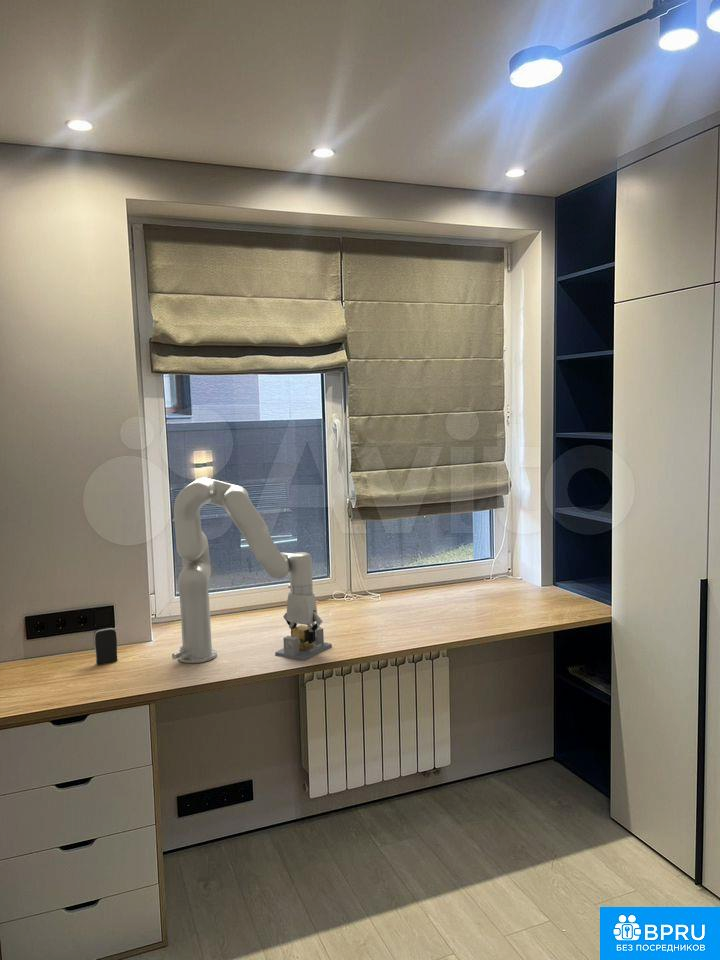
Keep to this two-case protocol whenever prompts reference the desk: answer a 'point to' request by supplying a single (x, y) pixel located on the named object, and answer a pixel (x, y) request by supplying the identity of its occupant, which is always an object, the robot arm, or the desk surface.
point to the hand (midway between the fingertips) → (303, 640)
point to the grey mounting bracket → (293, 651)
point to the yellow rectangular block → (302, 637)
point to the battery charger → (105, 646)
